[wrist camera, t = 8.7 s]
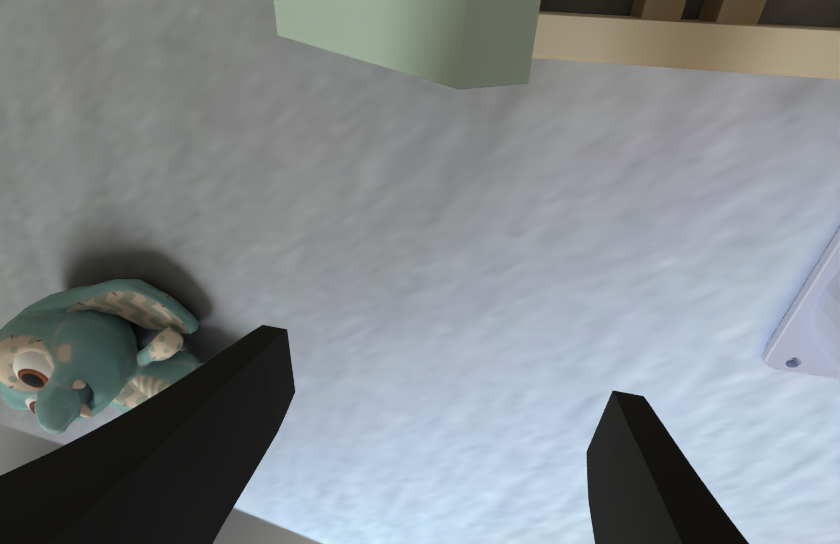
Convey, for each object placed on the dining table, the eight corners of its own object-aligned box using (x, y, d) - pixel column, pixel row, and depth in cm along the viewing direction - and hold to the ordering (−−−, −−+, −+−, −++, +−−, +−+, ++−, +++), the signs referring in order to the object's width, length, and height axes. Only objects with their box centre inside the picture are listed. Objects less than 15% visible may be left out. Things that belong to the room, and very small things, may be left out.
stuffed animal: (210, 511, 24) (-36, 477, 22) (252, 403, 30) (60, 369, 28) (210, 383, 18) (-125, 323, 16) (262, 280, 24) (20, 228, 22)
